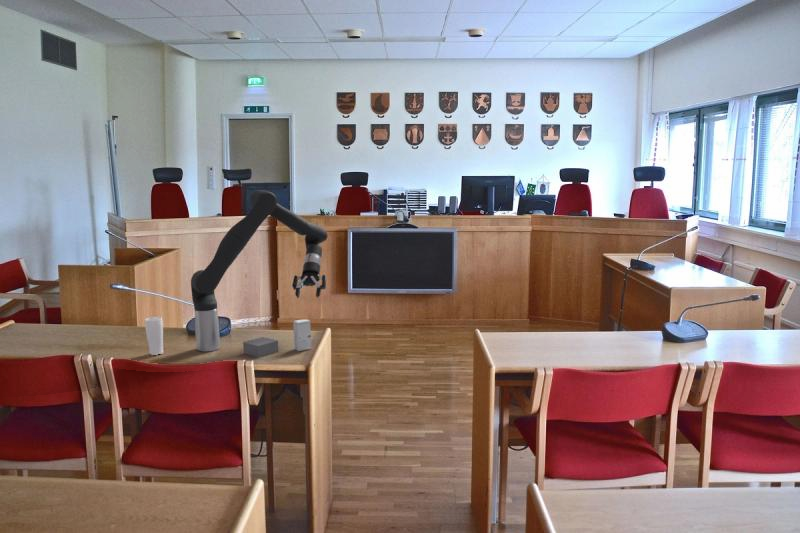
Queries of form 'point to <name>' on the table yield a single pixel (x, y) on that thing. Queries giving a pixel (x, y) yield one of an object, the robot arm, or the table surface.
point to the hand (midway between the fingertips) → (307, 296)
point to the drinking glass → (154, 334)
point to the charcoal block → (260, 346)
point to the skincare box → (302, 335)
